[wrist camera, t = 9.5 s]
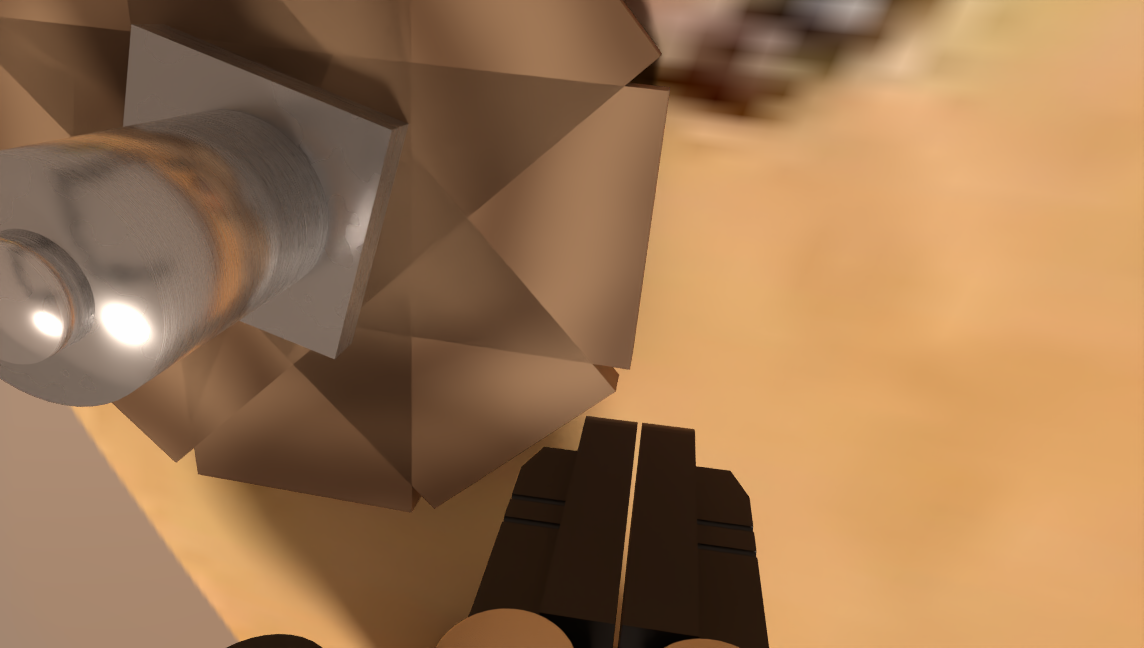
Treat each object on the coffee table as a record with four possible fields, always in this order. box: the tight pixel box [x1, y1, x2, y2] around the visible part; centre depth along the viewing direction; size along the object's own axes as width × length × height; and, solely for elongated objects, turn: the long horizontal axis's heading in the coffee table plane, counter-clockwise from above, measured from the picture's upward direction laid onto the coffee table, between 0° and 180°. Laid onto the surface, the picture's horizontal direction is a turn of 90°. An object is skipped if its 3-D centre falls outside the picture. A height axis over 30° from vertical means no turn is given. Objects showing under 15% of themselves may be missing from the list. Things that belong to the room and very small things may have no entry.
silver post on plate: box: [0, 24, 408, 407], centre depth 21 cm, size 9×9×11 cm
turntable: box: [0, 0, 670, 512], centre depth 25 cm, size 27×27×5 cm
